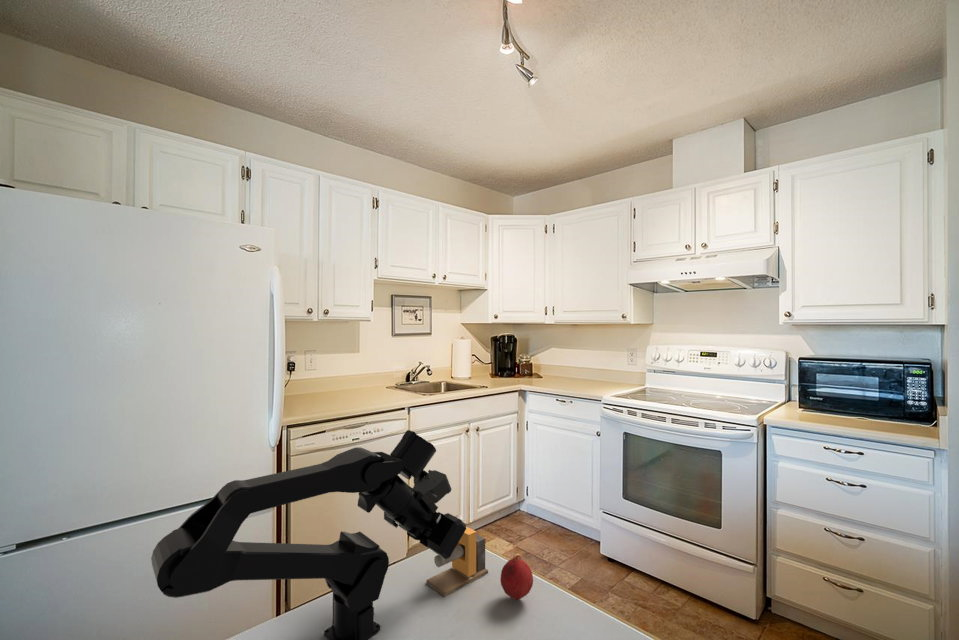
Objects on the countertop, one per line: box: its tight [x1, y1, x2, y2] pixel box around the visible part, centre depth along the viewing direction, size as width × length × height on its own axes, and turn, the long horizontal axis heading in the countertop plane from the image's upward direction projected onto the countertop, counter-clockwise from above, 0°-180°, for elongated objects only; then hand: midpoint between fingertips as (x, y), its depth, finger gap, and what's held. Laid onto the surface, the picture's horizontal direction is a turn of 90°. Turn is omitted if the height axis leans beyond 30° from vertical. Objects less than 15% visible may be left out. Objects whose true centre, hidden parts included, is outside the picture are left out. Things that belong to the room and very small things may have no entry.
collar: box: [451, 526, 477, 577], centre depth 84 cm, size 2×5×8 cm, turn 43°
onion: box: [500, 553, 534, 601], centre depth 76 cm, size 6×6×8 cm
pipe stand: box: [425, 533, 489, 597], centre depth 83 cm, size 11×6×6 cm, turn 133°
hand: (447, 543), depth 81 cm, fingers closed
